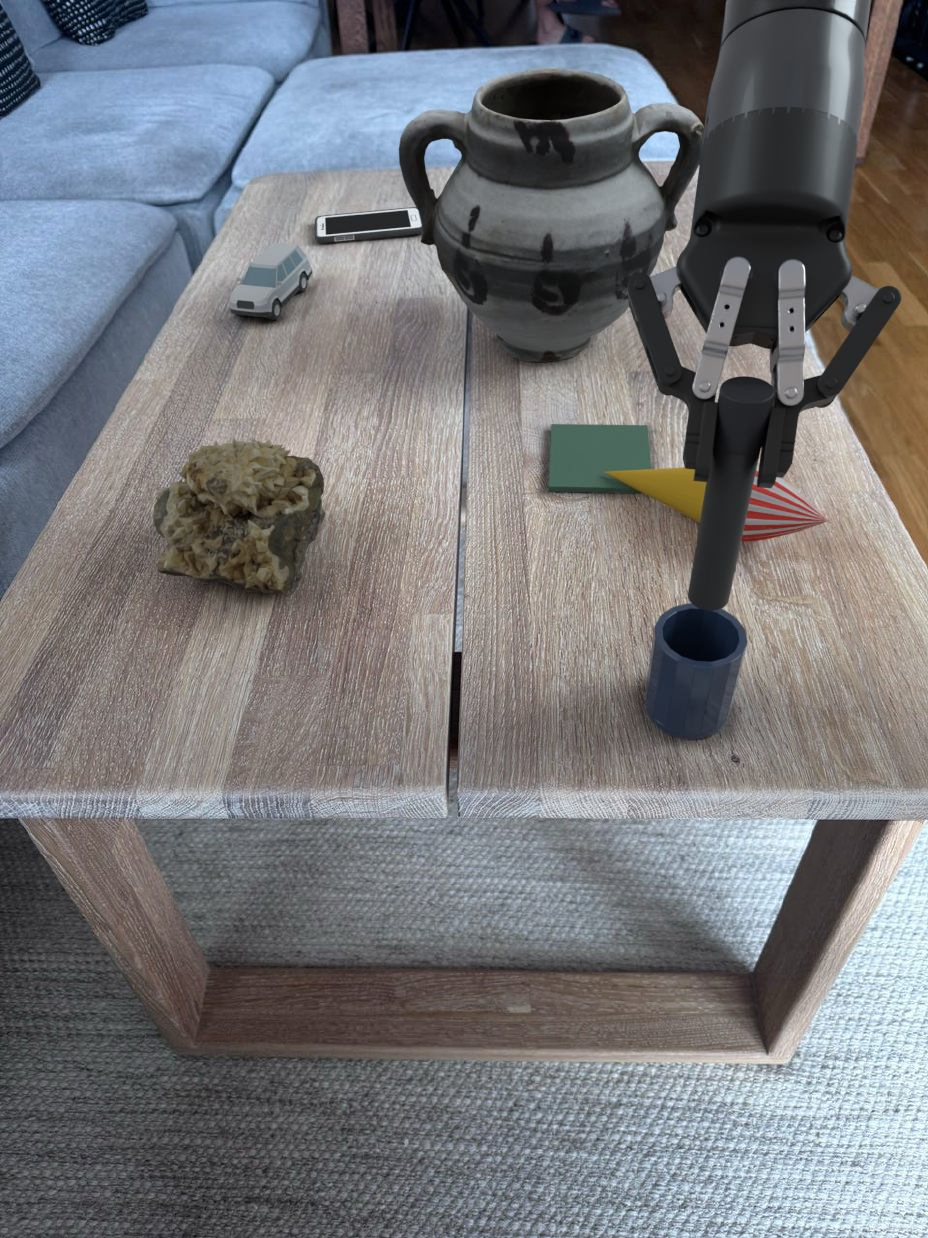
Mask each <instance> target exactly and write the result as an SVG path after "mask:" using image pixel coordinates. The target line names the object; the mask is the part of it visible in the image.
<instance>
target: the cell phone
mask: <svg viewBox="0 0 928 1238" xmlns="http://www.w3.org/2000/svg"><path fill="white" fill-rule="evenodd" d="M418 234H419V235H420V234H421V235H422V220H421V216H420V213H419V211H418V209H417V207H416V206H410V207H401V208H399V207H398V208H387V209H378V210H377V209H376V210H366V211H358V212H357V211H355V212H345V213H335V214H326V215H325V214H324V215H318V216H316V217H315V218H314V240H315V242H316V243H318V244H327V243H328V244H329V243H335V242H337V243H338V242H346V241H360V240H371V239H381V238H391V237H402V236H403V237H404V236H413V235H418Z"/></svg>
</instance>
